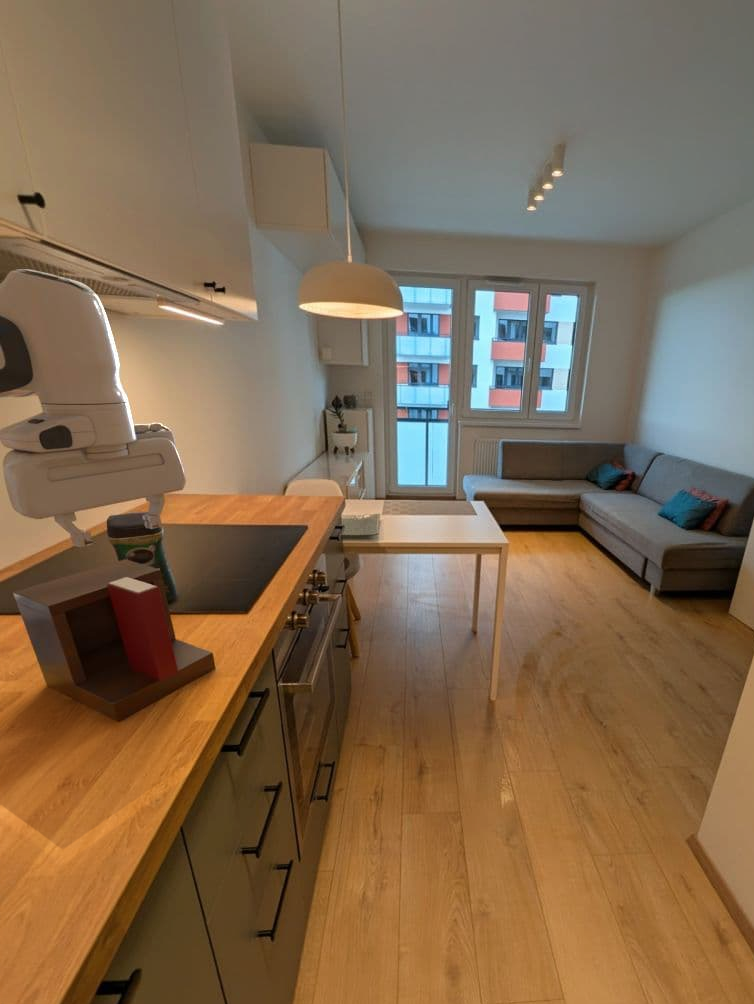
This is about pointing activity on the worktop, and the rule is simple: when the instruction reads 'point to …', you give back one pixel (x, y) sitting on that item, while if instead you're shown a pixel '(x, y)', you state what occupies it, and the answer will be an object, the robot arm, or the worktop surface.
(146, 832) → the worktop surface
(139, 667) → the book
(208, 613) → the worktop surface
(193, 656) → the shelf
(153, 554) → the coffee jar
